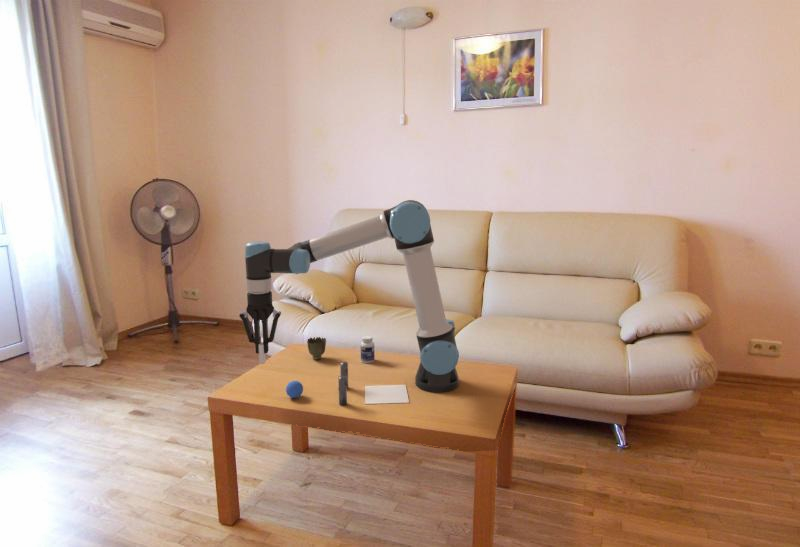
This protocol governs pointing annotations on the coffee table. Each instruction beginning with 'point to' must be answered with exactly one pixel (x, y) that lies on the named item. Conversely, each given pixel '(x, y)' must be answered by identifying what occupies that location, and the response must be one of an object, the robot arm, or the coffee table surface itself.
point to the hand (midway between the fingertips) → (262, 362)
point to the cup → (316, 347)
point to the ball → (294, 389)
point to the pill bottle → (367, 349)
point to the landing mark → (386, 394)
